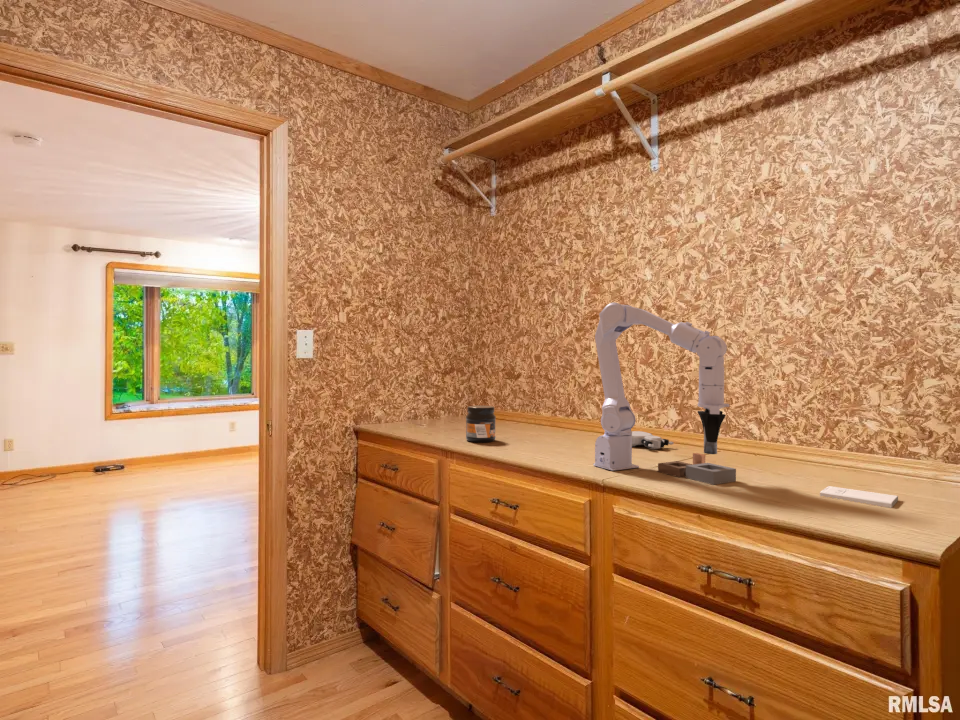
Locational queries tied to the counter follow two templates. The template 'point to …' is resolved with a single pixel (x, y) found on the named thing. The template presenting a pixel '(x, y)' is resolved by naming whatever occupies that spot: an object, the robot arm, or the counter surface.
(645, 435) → the robot toy
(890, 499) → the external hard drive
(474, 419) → the supplement container
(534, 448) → the counter surface
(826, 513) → the counter surface
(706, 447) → the rounded metal peg
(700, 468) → the block
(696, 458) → the pin
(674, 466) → the socket block
